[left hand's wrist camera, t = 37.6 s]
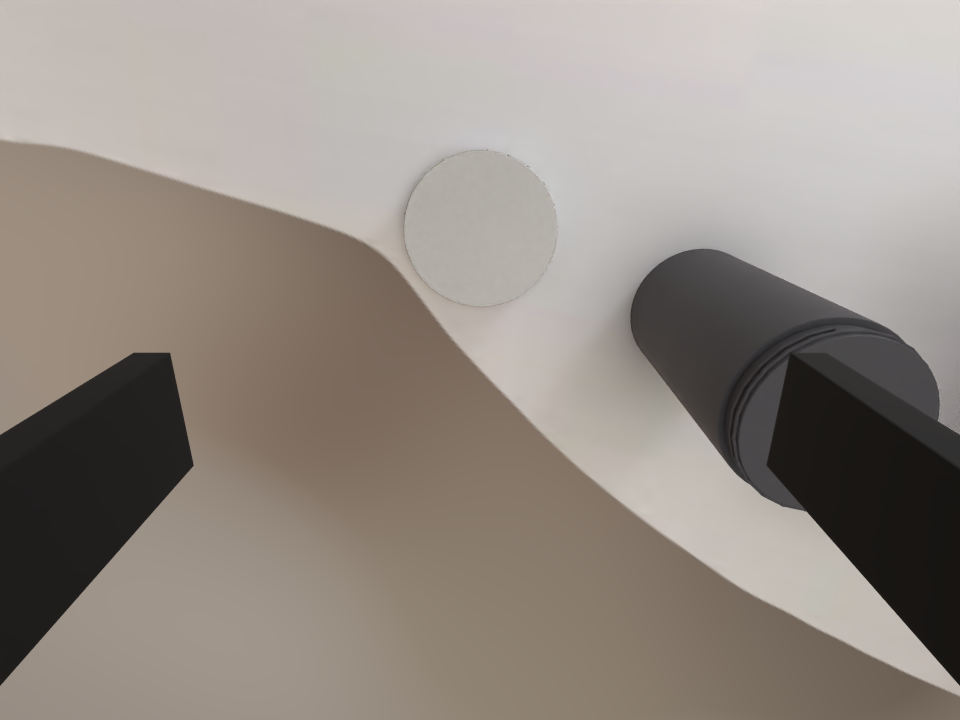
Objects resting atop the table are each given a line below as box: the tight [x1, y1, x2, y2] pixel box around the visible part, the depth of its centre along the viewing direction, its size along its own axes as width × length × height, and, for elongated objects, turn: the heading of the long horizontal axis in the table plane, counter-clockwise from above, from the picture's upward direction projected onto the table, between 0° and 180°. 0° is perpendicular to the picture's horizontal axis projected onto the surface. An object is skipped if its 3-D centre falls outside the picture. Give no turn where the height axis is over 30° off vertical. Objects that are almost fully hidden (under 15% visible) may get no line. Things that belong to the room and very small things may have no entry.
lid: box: [404, 149, 558, 307], centre depth 38 cm, size 10×10×2 cm
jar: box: [631, 249, 940, 511], centre depth 33 cm, size 9×9×18 cm
